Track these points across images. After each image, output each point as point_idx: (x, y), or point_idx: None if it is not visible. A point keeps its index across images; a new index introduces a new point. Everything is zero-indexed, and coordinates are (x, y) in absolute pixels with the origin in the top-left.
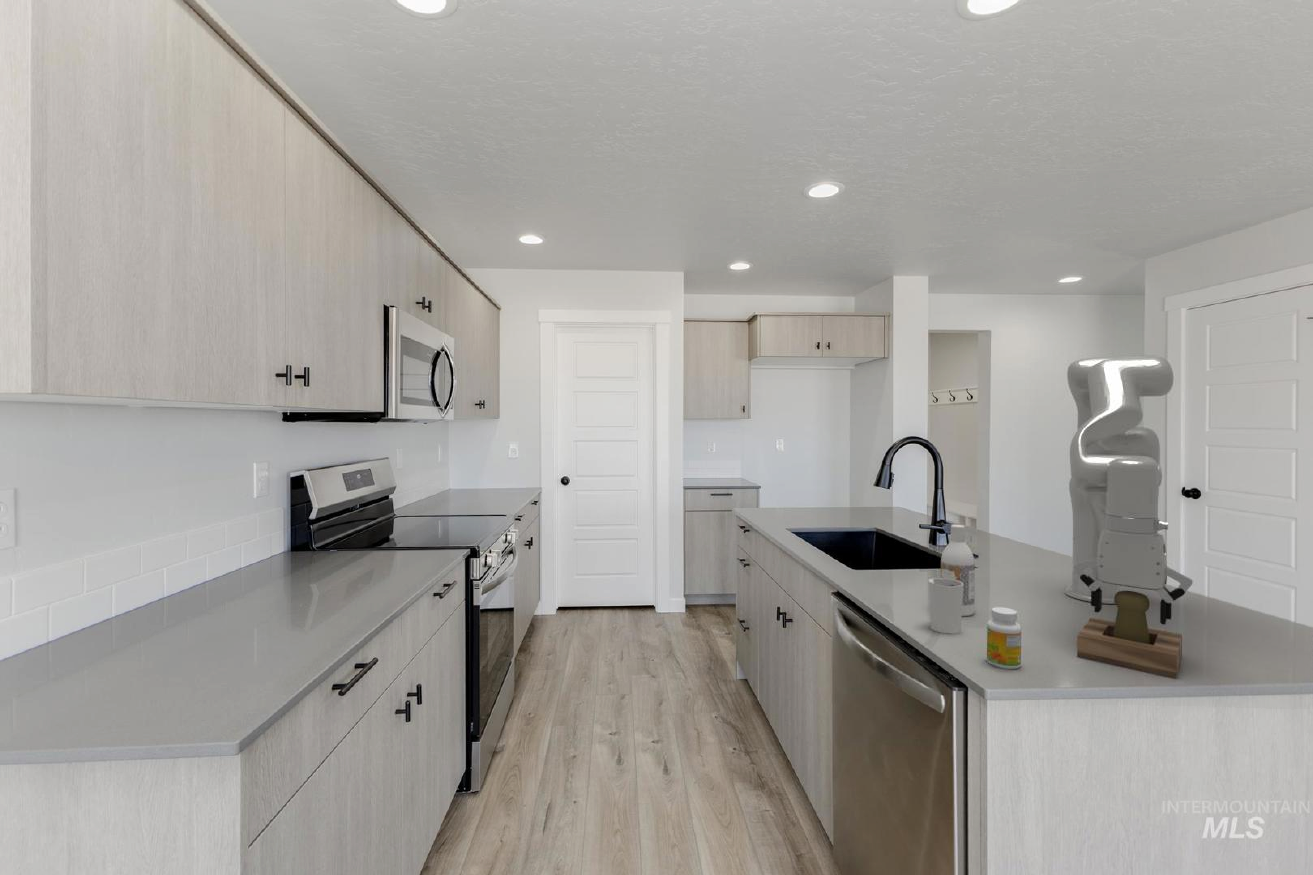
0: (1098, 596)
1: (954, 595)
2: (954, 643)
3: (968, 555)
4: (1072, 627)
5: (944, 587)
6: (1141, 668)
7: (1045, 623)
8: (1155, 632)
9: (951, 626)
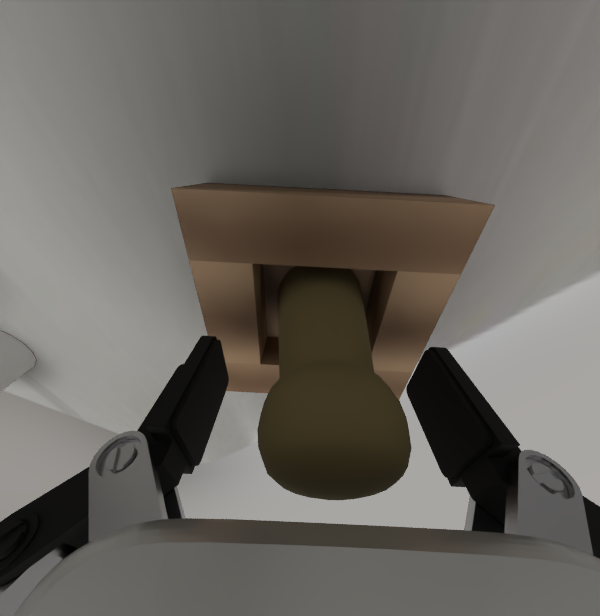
0: (202, 445)
1: None
2: (83, 397)
3: None
4: (108, 65)
5: None
6: None
7: (21, 88)
8: (395, 249)
9: (18, 377)
